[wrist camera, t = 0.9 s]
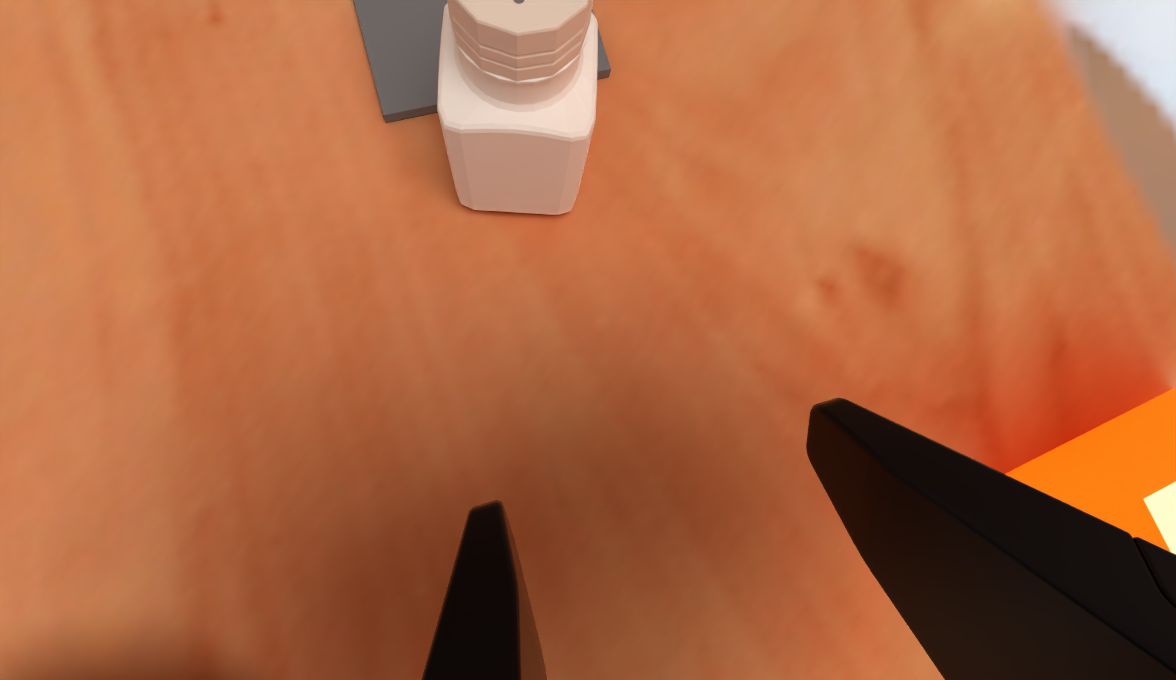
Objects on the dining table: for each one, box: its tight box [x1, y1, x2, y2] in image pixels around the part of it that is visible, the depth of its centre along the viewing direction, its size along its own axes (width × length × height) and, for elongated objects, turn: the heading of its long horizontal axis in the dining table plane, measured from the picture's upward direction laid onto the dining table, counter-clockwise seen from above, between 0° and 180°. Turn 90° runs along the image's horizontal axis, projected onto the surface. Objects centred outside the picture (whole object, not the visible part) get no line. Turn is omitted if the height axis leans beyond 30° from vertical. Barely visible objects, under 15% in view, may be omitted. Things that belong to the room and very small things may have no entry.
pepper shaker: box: [437, 0, 598, 215], centre depth 18 cm, size 4×4×10 cm
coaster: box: [354, 0, 611, 123], centre depth 23 cm, size 7×8×1 cm
